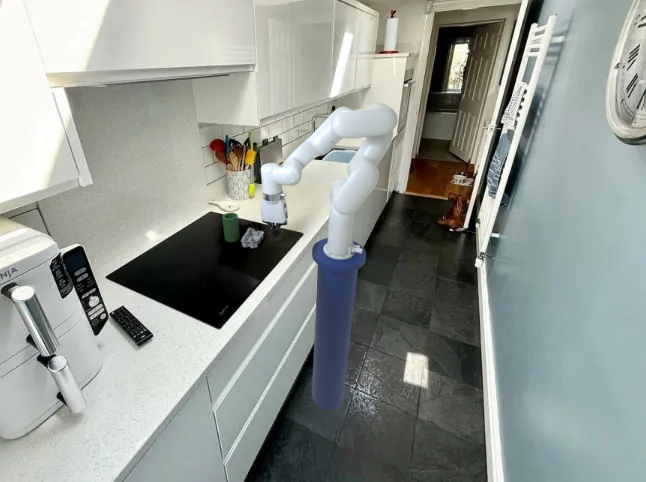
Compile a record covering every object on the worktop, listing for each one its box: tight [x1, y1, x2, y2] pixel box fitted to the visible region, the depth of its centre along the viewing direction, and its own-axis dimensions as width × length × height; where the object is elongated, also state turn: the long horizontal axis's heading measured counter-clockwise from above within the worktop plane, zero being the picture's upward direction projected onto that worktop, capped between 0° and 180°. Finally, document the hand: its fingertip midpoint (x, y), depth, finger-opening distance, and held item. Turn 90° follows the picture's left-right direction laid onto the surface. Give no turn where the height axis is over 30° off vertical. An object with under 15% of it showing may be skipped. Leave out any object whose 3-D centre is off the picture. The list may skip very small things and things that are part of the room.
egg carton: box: [240, 226, 265, 249], centre depth 130 cm, size 11×8×4 cm
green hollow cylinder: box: [221, 212, 241, 243], centre depth 132 cm, size 6×6×11 cm
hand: (276, 235), depth 127 cm, fingers closed
